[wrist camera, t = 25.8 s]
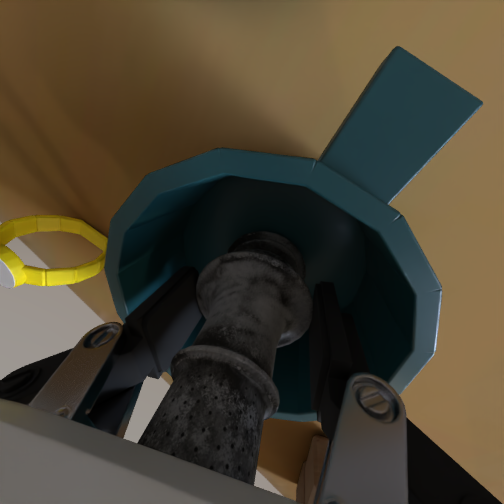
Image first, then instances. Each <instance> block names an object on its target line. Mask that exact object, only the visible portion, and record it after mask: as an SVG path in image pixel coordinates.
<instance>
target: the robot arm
mask: <svg viewBox="0 0 504 504" xmlns="http://www.w3.org/2000/svg"><path fill="white" fill-rule="evenodd" d="M198 278H199V272H198V270H196V269H195V267H190V266H183V267H182V268H180V269H179V270H178V271H177V272H176V273H175V274H174V275H173V276H171V277H170V278H169V279H168V280H167V281H166V282H165V283H164V284H163V285H161V286H160V287H159V288H158V289H157V290H156V291H155V292H154V293H152V294H151V295H150V296H149V297H148V298H147V299H146V300H145V301H144V302H142V303H141V304H140V305H139V306H138V307H137V308H136V309H135V310H134V311H132V312H131V313H130V314H129V315H128V316H127V317H126V318H125V321H126V323H124V324H123V325H121V324H120V323H118V322H109V323H104V324H102V325H99V326H97V327H95V328H93V329H92V330H90V331H89V332H87V333H86V334H85V335H84V336H83V337H82V338H81V340H80V341H79V342H78V343H77V345H76V346H75V347H74V348H72V349H69V350H67V351H64V352H61V353H59V354H56V355H53V356H50V357H48V358H45V359H42V360H40V361H37V362H34V363H31V364H29V365H26V366H24V367H21V368H19V369H17V370H15V371H13V372H12V373H10V374H9V375H7V376H6V377H4V378H3V379H2V380H0V504H302V503H299V502H297V501H294V500H291V499H289V498H286V497H283V496H280V495H278V494H275V493H272V492H270V491H267V490H264V489H261V488H259V487H256V486H253V485H250V484H248V483H245V482H242V481H240V480H237V479H234V478H231V477H229V476H226V475H223V474H220V473H218V472H215V471H212V470H209V469H207V468H204V467H201V466H198V465H196V464H193V463H190V462H187V461H185V460H182V459H179V458H176V457H173V456H171V455H168V454H165V453H162V452H159V451H157V450H154V449H151V448H148V447H146V446H143V445H140V444H137V443H134V442H132V441H129V440H126V439H123V438H124V435H125V432H126V429H127V426H128V424H129V420H130V418H131V415H132V412H133V409H134V407H135V404H136V401H137V399H138V396H139V393H140V390H141V387H142V384H143V381H144V380H145V378H146V377H147V375H148V377H152V378H156V379H159V378H160V376H161V375H162V373H163V372H166V371H167V370H168V368H169V367H170V364H171V361H172V358H173V357H174V356H175V355H176V354H177V353H178V352H179V351H180V350H181V348H182V347H183V345H184V343H185V342H186V340H187V339H188V337H189V336H190V334H191V333H192V331H193V329H194V328H195V326H196V325H197V323H198V322H199V320H200V319H201V317H202V315H203V314H202V312H201V310H200V308H199V305H198V302H197V298H196V284H197V281H198ZM309 358H310V390H311V409H312V410H315V411H317V421H318V422H321V427H322V430H323V432H324V433H325V434H326V436H327V437H328V438H329V441H328V445H327V449H326V453H325V457H324V461H323V465H322V469H321V472H320V476H319V480H318V484H317V488H316V492H315V496H314V500H313V504H502V503H501V502H500V501H499V500H498V499H497V498H495V497H494V496H493V495H492V494H491V493H490V492H489V491H488V490H487V489H485V488H484V487H483V486H482V485H481V484H480V483H479V482H478V481H477V480H475V479H474V478H473V477H472V476H471V475H470V474H469V473H468V472H466V471H465V470H464V469H463V468H462V467H461V466H460V465H459V464H458V463H456V462H455V461H454V460H453V459H452V458H451V457H450V456H449V455H448V454H446V453H445V452H444V451H443V450H442V449H441V448H440V447H439V446H438V445H436V444H435V443H434V442H433V441H432V440H431V439H430V438H429V437H428V436H426V435H425V434H424V433H423V432H422V431H421V430H420V429H419V428H418V427H416V426H415V425H414V424H413V423H412V422H411V421H410V420H409V419H408V418H406V410H405V405H404V403H403V401H402V399H401V397H400V396H399V395H398V393H397V392H396V391H395V389H394V388H393V387H392V386H391V385H389V384H388V383H387V382H386V381H385V380H383V379H381V378H380V377H378V376H376V375H374V374H371V373H370V371H369V368H368V364H367V361H366V358H365V355H364V352H363V348H362V345H361V342H360V339H359V336H358V332H357V329H356V326H355V323H354V320H353V317H352V315H351V314H348V313H341V312H340V308H339V304H338V300H337V295H336V291H335V287H334V283H333V282H324V281H320V284H315V290H314V296H313V315H312V321H311V324H310V326H309Z"/></svg>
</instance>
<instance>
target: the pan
mask: <svg viewBox="0 0 504 504" xmlns="http://www.w3.org/2000/svg"><path fill="white" fill-rule="evenodd" d="M482 105H483V102H482V101H481V100H479V99H478V98H476V97H475V96H473V95H472V94H470V93H469V92H467V91H466V90H464V89H463V88H461V87H460V86H458V85H457V84H455V83H454V82H452V81H451V80H449V79H448V78H446V77H445V76H443V75H442V74H440V73H439V72H437V71H436V70H434V69H433V68H431V67H430V66H428V65H427V64H425V63H424V62H422V61H421V60H419V59H418V58H416V57H415V56H413V55H412V54H410V53H409V52H407V51H406V50H404V49H403V48H401V47H400V46H396V47H395V48H394V49H393V50H392V51H391V52H390V54H389V55H388V56H387V57H386V59H385V60H384V61H383V62H382V63H381V65H380V66H379V68H378V69H377V71H376V72H375V74H374V75H373V77H372V78H371V80H370V81H369V83H368V84H367V86H366V87H365V89H364V90H363V92H362V93H361V95H360V97H359V98H358V100H357V101H356V103H355V104H354V106H353V107H352V109H351V110H350V112H349V113H348V115H347V116H346V118H345V119H344V121H343V122H342V124H341V125H340V127H339V129H338V130H337V132H336V133H335V135H334V136H333V138H332V139H331V141H330V142H329V144H328V145H327V147H326V148H325V150H324V151H323V153H322V154H321V156H320V157H319V159H318V161H317V160H315V159H313V158H305V157H297V156H288V155H280V154H272V153H264V152H256V151H247V150H239V149H231V148H223V147H222V148H216V149H213V150H210V151H208V152H205V153H202V154H200V155H197V156H194V157H191V158H189V159H186V160H183V161H181V162H178V163H175V164H173V165H170V166H167V167H165V168H162V169H159V170H157V171H154V172H151V173H149V174H148V175H146V176H145V177H144V178H143V180H142V181H141V182H140V183H139V185H138V186H137V187H136V188H135V190H134V191H133V192H132V193H131V195H130V196H129V197H128V199H127V200H126V201H125V202H124V204H123V205H122V206H121V207H120V209H119V210H118V211H117V212H116V214H115V215H114V216H113V217H112V219H111V221H110V228H109V235H108V242H107V249H106V257H105V264H104V268H105V274H106V277H107V280H108V284H109V287H110V291H111V294H112V298H113V301H114V305H115V308H116V311H117V314H118V315H119V317H120V318H121V320H122V321H123V323H126V321H125V318H126V317H127V316H128V315H129V314H130V313H131V312H132V311H134V310H135V309H136V308H137V307H138V306H139V305H140V304H141V303H142V302H144V301H145V300H146V299H147V298H148V297H149V296H150V295H151V294H152V293H154V292H155V291H156V290H157V289H158V288H159V287H160V286H161V285H163V284H164V283H165V282H166V281H167V280H168V279H169V278H170V277H171V276H173V275H174V274H175V273H176V272H177V271H178V270H179V269H180V268H182V267H183V266H190V267H195V269H196V270H198V272H199V275H200V273H201V272H202V270H203V269H204V268H205V267H206V265H207V264H208V263H209V262H211V261H212V260H214V259H215V258H217V257H218V256H221V255H224V254H227V252H228V249H229V248H230V246H231V245H232V244H233V243H234V241H235V240H237V239H238V238H240V237H241V236H243V235H245V234H248V233H251V232H256V231H267V232H272V233H276V234H279V235H281V236H283V237H285V238H287V239H288V240H289V241H291V242H292V243H293V244H294V245H295V246H296V247H297V248H298V250H299V251H300V253H301V254H302V256H303V259H304V262H305V269H306V276H305V279H304V282H305V284H306V285H307V286H308V288H309V291H310V294H311V297H312V300H313V296H314V290H315V284H320V281H324V282H333V283H334V287H335V291H336V295H337V300H338V304H339V308H340V312H341V313H348V314H351V315H352V317H353V320H354V323H355V326H356V329H357V332H358V336H359V339H360V342H361V345H362V348H363V352H364V355H365V358H366V361H367V364H368V368H369V371H370V373H371V374H374V375H376V376H378V377H380V378H381V379H383V380H385V381H386V382H387V383H388V384H389V385H391V386H392V387H393V388H394V389H395V391H396V392H397V393H398V395H399V394H401V393H402V392H403V391H404V389H405V388H406V387H407V386H408V385H409V384H410V382H411V381H412V380H413V379H414V378H415V377H416V375H417V374H418V373H419V372H420V371H421V370H422V368H423V367H424V366H425V365H426V364H427V362H428V361H429V360H430V359H431V358H432V357H433V355H434V352H436V344H437V334H438V325H439V316H440V307H441V298H442V289H441V288H442V286H441V284H440V282H439V280H438V278H437V277H436V275H435V273H434V271H433V269H432V267H431V266H430V264H429V262H428V260H427V258H426V256H425V255H424V253H423V251H422V249H421V247H420V245H419V244H418V242H417V240H416V238H415V236H414V234H413V233H412V231H411V229H410V227H409V225H408V223H407V222H406V220H405V218H404V216H403V215H401V214H400V212H399V211H397V210H396V209H394V208H393V207H391V206H389V205H388V204H389V203H390V202H391V201H392V200H393V199H394V198H395V197H396V196H397V195H398V194H399V193H400V192H401V191H402V189H403V188H404V187H405V186H406V185H407V184H408V183H409V182H410V181H411V180H412V179H413V178H414V177H415V176H416V175H417V174H418V173H419V172H420V171H421V169H422V168H423V167H424V166H425V165H426V164H427V163H428V162H429V161H430V160H431V159H432V158H433V157H434V156H435V155H436V154H437V153H438V152H439V151H440V149H441V148H442V147H443V146H444V145H445V144H446V143H447V142H448V141H449V140H450V139H451V138H452V137H453V136H454V135H455V134H456V133H457V132H458V130H459V129H460V128H461V127H462V126H463V125H464V124H465V123H466V122H467V121H468V120H469V119H470V118H471V117H472V116H473V115H474V114H475V113H476V112H477V110H478V109H479V108H480V107H481V106H482ZM205 322H206V319H205V317H204V315H202V317H201V319H200V320H199V322H198V323H197V325H196V326H195V328H194V329H193V331H192V333H191V334H190V336H189V337H188V339H187V340H186V342H185V343H184V345H183V347H182V348H181V350H182V349H184V348H187V347H189V346H192V344H193V342H194V341H195V339H196V337H197V336H198V334H199V332H200V331H201V329H202V327H203V325H204V324H205ZM166 372H167V373H168V374H169V375H171V371H170V367H169V368H168V370H167V371H166ZM272 380H273V382H274V384H275V386H276V387H277V389H278V392H279V399H280V403H279V406H278V409H277V412H276V413H275V414H274V415H272V416H271V417H270V418H275V419H283V420H291V421H298V422H302V421H303V422H307V421H316V420H317V411H315V410H312V409H311V390H310V358H309V328H308V330H307V331H306V332H305V333H304V334H303V335H302V337H300V338H299V339H297V340H296V341H294V342H292V343H291V344H289V345H285V346H282V347H279V348H276V355H275V362H274V370H273V377H272Z"/></svg>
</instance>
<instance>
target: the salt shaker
mask: <svg viewBox="0 0 504 504" xmlns="http://www.w3.org/2000/svg"><path fill="white" fill-rule="evenodd" d="M305 276H306V269H305V262H304V259H303V256H302V254H301V253H300V251H299V250H298V248H297V247H296V246H295V245H294V244H293V243H292V242H291V241H289V240H288V239H287V238H285V237H283V236H281V235H279V234H276V233H272V232H267V231H256V232H251V233H248V234H245V235H243V236H241V237H240V238H238V239H237V240H235V241H234V243H233V244H232V245H231V246H230V248H229V249H228V252H227V254H224V255H221V256H218V257H217V258H215V259H214V260H212V261H211V262H209V263H208V264H207V265H206V267H205V268H204V269H203V270H202V272H201V273H200V275H199V278H198V281H197V284H196V298H197V302H198V305H199V308H200V310H201V312H202V314H203V315H204V317H205V319H206V322H205V324H204V325H203V327H202V329H201V331H200V332H199V334H198V336H197V337H196V339H195V341H194V342H193V344H192V346H189V347H187V348H184V349H182V350H180V351H179V352H178V353H177V354H176V355H175V356H174V357H173V358H172V361H171V364H170V371H171V377H172V379H173V383H172V384H171V386H170V388H169V390H168V391H167V393H166V395H165V397H164V398H163V400H162V402H161V403H160V405H159V407H158V409H157V411H156V412H155V414H154V415H153V417H152V419H151V421H150V422H149V424H148V426H147V427H146V429H145V431H144V433H143V435H142V436H141V438H140V439H139V441H138V443H137V444H140V445H143V446H146V447H148V448H151V449H154V450H157V451H159V452H162V453H165V454H168V455H171V456H173V457H176V458H179V459H182V460H185V461H187V462H190V463H193V464H196V465H198V466H201V467H204V468H207V469H209V470H212V471H215V472H218V473H220V474H223V475H226V476H229V477H231V478H234V479H237V480H240V481H242V482H245V483H248V484H250V485H253V486H254V481H255V475H256V468H257V461H258V455H259V448H260V441H261V435H262V428H263V421H264V420H266V419H269V418H270V417H271V416H272V415H274V414H275V413H276V412H277V409H278V406H279V403H280V399H279V392H278V389H277V387H276V386H275V384H274V382H273V380H272V377H273V370H274V362H275V355H276V348H279V347H282V346H285V345H289V344H291V343H292V342H294V341H296V340H297V339H299V338H300V337H302V335H303V334H304V333H305V332H306V331H307V330H308V328H309V326H310V324H311V321H312V315H313V300H312V297H311V294H310V291H309V288H308V286H307V285H306V284H305V282H304V279H305Z"/></svg>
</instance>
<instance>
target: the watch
mask: <svg viewBox="0 0 504 504" xmlns="http://www.w3.org/2000/svg"><path fill="white" fill-rule="evenodd" d="M37 231H65V232H70V233H76V234H80V235H82V236H83V237H85V238H86V239H87V240H89V241H90V242H91V243H93V244H94V245H96V246H97V247H98V248H100V249H101V250H102V251H103V253H101V254H100V255H99V256H98V257H97V258H96V259H95V260H94V261H91V262H88V263H85V264H82V265H79V266H76V267H71V268H55V269H43V268H38V267H32V266H27V265H24V263H23V262H22V261H21V259H20V258H19V257H18V256H17V255H16V254H15V253H14V252H13V251H12V250H11V249H9V248H8V247H7V246H5V245H6V244H7V243H8V242H10V241H11V240H12V239H14V238H15V237H18V236H22V235H26V234H29V233H33V232H37ZM107 242H108V238H107V237H105V236H104V235H102V234H101V233H99V232H98V231H97V230H95V229H94V228H92V227H91V226H90V225H88V224H87V223H85V222H84V221H83V220H80V219H76V218H71V217H66V216H59V215H35V216H33V215H31V216H26V217H22V218H17V219H12V220H9V221H6V222H4V223H2V224H1V225H0V285H1V286H3V287H5V288H15V287H17V286H19V285H22V284H24V283H26V284H32V285H38V286H55V285H65V284H74V283H75V282H76V283H78V282H80V281H82V280H85V279H87V278H90V277H92V276H95V275H96V274H98V273H99V272H100V271H101V270H102V269H103V268H104V264H105V257H106V249H107Z"/></svg>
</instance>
